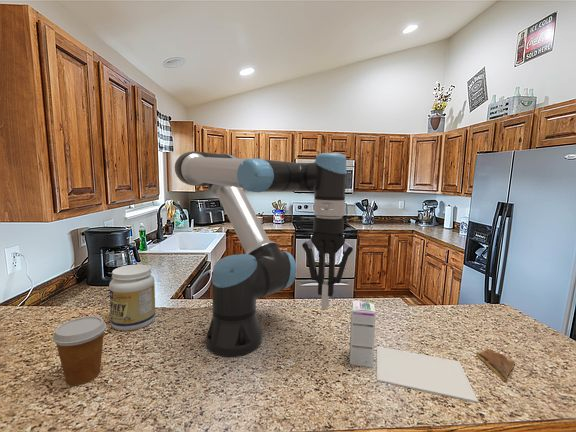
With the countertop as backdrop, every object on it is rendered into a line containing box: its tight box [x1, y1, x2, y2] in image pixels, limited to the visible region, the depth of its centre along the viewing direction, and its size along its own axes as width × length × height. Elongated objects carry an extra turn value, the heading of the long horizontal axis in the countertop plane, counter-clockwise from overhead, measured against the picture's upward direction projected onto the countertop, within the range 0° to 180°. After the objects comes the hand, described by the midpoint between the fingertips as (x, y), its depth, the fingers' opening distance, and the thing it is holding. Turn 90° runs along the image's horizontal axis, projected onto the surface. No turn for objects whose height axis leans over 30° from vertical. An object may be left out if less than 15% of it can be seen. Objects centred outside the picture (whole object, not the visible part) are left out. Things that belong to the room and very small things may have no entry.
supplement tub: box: [108, 264, 156, 332], centre depth 87 cm, size 12×12×17 cm
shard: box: [475, 348, 516, 382], centre depth 72 cm, size 11×8×2 cm
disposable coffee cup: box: [52, 315, 107, 386], centre depth 63 cm, size 10×10×12 cm
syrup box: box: [349, 300, 377, 369], centre depth 72 cm, size 6×6×14 cm
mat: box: [376, 345, 479, 404], centre depth 69 cm, size 20×14×1 cm
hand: (325, 307), depth 74 cm, fingers closed
